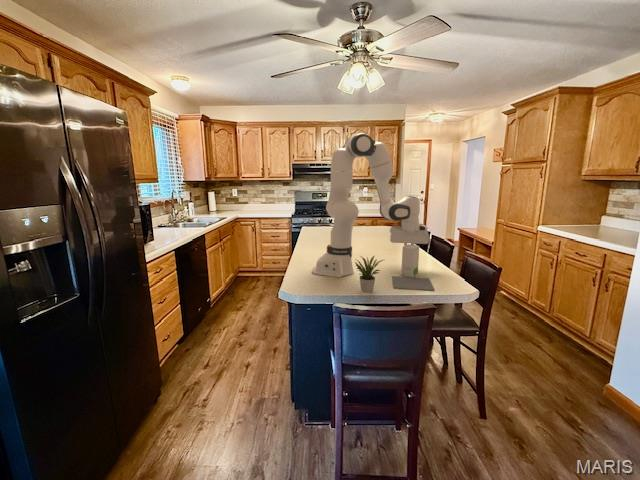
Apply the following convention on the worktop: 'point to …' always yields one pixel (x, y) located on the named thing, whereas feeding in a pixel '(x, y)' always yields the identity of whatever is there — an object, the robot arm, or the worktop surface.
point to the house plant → (367, 275)
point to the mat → (412, 283)
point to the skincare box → (410, 260)
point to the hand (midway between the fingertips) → (408, 251)
